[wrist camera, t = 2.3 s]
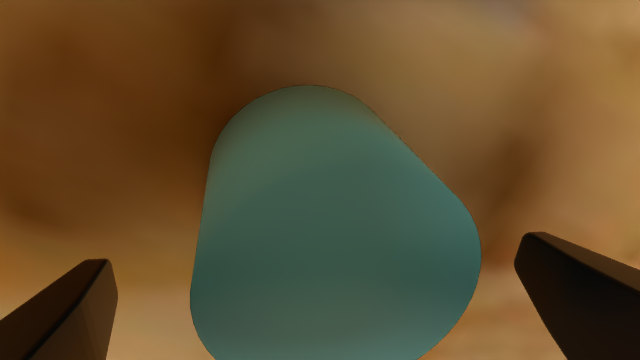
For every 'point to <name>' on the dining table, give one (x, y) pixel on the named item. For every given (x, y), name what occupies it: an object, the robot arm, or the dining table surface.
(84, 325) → the robot arm
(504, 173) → the dining table surface
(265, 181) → the teal drum
